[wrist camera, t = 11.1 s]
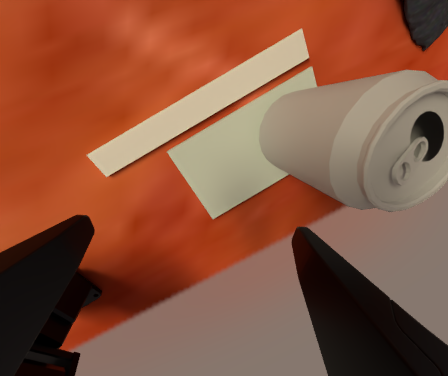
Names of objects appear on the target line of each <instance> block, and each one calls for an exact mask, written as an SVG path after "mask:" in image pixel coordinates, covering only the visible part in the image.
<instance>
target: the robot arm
mask: <svg viewBox="0 0 448 376" xmlns="http://www.w3.org/2000/svg"><path fill="white" fill-rule="evenodd" d="M94 231H95V230H94V227H93V224H92V222H91V220H90V218H89V217H88V216H87V215H75V216H73V217H71V218H69V219H67V220H65V221H63V222H61V223H59V224H57V225H55V226H53V227H51V228H49V229H47V230H45V231H43V232H41V233H39V234H37V235H35V236H33V237H31V238H29V239H27V240H25V241H23V242H21V243H19V244H17V245H15V246H13V247H11V248H9V249H7V250H5V251H3V252H1V253H0V376H75V372H76V369H77V365H78V361H79V357H80V353H77V352H74V353H72V352H68V351H65V350H61V349H59V348H60V347H61V346H62V344H63V342H64V340H65V339H66V337H67V335H68V333H69V331H70V329H71V327H72V325H73V323H74V321H75V320H76V318H77V316H78V314H79V312H80V310H81V308H83V307H84V306H86V305H88V304H89V303H91V302H93V301H95V300H96V299H98V298H99V297H100V296H101V294H102V291H101V290H100V289H99V288H97V287H96V286H94V285H93V284H92V283H90V282H89V281H88V280H86V279H85V278H84V277H82V276H81V275H80V274H78V273H77V272H76V270H77V269H78V267H79V265H80V263H81V261H82V259H83V257H84V254H85V252H86V250H87V248H88V246H89V244H90V242H91V239H92V237H93V235H94ZM292 248H293V253H294V258H295V264H296V269H297V274H298V278H299V282H300V285H301V289H302V292H303V295H304V298H305V302H306V305H307V308H308V311H309V315H310V318H311V321H312V325H313V328H314V331H315V334H316V337H317V341H318V344H319V347H320V350H321V354H322V357H323V360H324V364H325V367H326V370H327V373H328V376H448V345H447V344H445V343H444V342H443V341H441V340H440V339H439V338H438V337H436V336H435V335H434V334H433V333H431V332H430V331H429V330H427V329H426V328H425V327H424V326H423V325H421V324H420V323H419V322H418V321H417V320H415V319H414V318H413V317H412V316H411V315H409V314H408V313H407V312H406V311H404V310H403V309H402V308H401V307H400V306H399V305H398V304H396V303H395V302H394V301H393V300H390V298H389V297H388V296H387V295H386V294H385V293H384V292H382V291H381V290H380V289H379V288H378V287H377V286H375V285H374V284H373V283H372V282H370V281H369V280H368V279H367V278H366V277H365V276H364V275H363V274H361V273H360V272H359V271H358V270H357V269H356V268H354V267H353V266H352V265H351V264H350V263H348V262H347V261H346V260H345V259H344V258H343V257H341V256H340V255H339V254H338V253H337V252H336V251H334V250H333V249H332V248H331V247H330V246H329V245H327V244H326V243H325V242H324V241H323V240H322V239H320V238H319V237H318V236H317V235H316V234H315V233H313V232H312V231H311V230H310V229H309V228H307V227H297V228H296V230H295V233H294V235H293V238H292Z"/></svg>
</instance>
